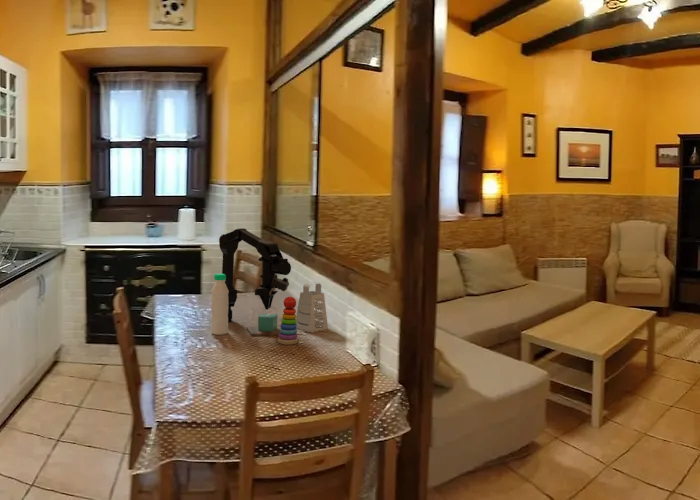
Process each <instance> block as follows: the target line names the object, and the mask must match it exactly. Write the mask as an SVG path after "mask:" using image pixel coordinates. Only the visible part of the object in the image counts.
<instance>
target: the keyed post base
mask: <svg viewBox="0 0 700 500" xmlns="http://www.w3.org/2000/svg"><path fill="white" fill-rule="evenodd" d="M280 325H281V324H280ZM280 325H279V324H277V329H275V330H274V331H273V332H270V331H258V325H257V326H246V327H245V328H246V331H247V332H248V333H249V335H250V336H251V337H260V336H261V337H262V336H279V333H280V328H281V326H280Z"/></svg>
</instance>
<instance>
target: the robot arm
mask: <svg viewBox="0 0 700 500" xmlns="http://www.w3.org/2000/svg"><path fill="white" fill-rule="evenodd" d="M240 242H245V243H246V244H248V245H250V246H252V247H253V248H254V249H256V252H257V253H258V254H260V256H261V257H259V258H258V262H261V274H260V279H261V284H260V285H259V287H257V288H256V289H255V290H254V296H258V297H259V298H260V300H261V302H262V304H263V306H264V309H265V310H269V309H271V307H272V303H273V299H274V297H275V295H276V294H277V293H278V292H279V291H282V292H285V291H287V289H288V287H289V286H290V282H289V279H288V278H287V277H283V279H282V278H279V277H278V275H283V276H288V275H289V274H290V273H291V270H292V266H291V263H290V262H289V260H288V258H284V256H283V253H282V252H281V250H280V248H279V247H278V244H277V243H276V242H274V241H272V240H271V241H270V240H265V239H262V238H261V237H259V236H257V235H255V234H253V232H250V231H248V230H247V228H245V227H243V228H236V229H234V230H231V231H230V232H227V233H225V234H224V233H223V234H221V235H220V236H219V238H218V243H219V246H218V247H219V249H220V251H221V253H222V266H221V267H222V268H221V274H225V275H226V280H225V284H226V286H227V288H228V291H229V293H228V323H229V322H233V310H232V307H235V304H236V303H237V302H236V301H237V299H238V289H236V288H235V287H234V264H235V253H236V252H237V250H238V248H239V243H240ZM275 289H277V290H275ZM278 290H279V291H278Z"/></svg>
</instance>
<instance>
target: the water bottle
mask: <svg viewBox="0 0 700 500" xmlns="http://www.w3.org/2000/svg"><path fill="white" fill-rule="evenodd" d="M213 278H214V282H215V283H214V285H213V286H212V288H211V291H210V292H211V293H210V294H211V297H210V298H211V301H210V303H211V305H210V309H211V311H210V313H211V316H210V325H211V326H210V332H211V334H212V335H217V336H218V335H219V336H221V335H223V336H224V335H226V334H227V333H228V332H229V322H228V293H229V291H228V288H227V286H226V284H225V280H226V275H225V274H222V273H215V274H214V277H213Z"/></svg>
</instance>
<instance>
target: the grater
mask: <svg viewBox="0 0 700 500" xmlns="http://www.w3.org/2000/svg"><path fill="white" fill-rule="evenodd" d="M311 285H315V291H314V290H310V287H311ZM302 289H303V290H302V292H299V299H298V303H297V310H296V314H295V315H296V318H295V319H296V320H297V322H296V325H297V327H296V329H297V330H301V331H304V332H308V333H314V331H315V332H319V330H320V331H324V330H328V329H329V325H328V316H327V307H326V300H325V299H326V298H325V297H326V296H325V293H324V292H322V284H321V283H320V282H319V283H318V282H306V283H304V284H303V288H302ZM320 326H321V327H320ZM323 329H324V330H323Z"/></svg>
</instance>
